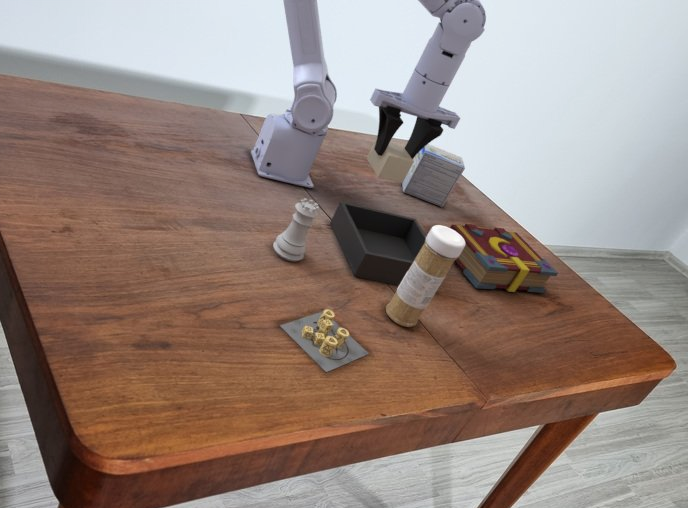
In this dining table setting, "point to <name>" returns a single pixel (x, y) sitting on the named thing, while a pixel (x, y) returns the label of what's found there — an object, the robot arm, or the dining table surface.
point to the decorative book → (501, 260)
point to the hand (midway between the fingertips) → (391, 156)
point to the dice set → (324, 340)
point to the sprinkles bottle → (425, 275)
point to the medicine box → (433, 175)
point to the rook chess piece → (296, 232)
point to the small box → (391, 162)
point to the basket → (377, 242)
